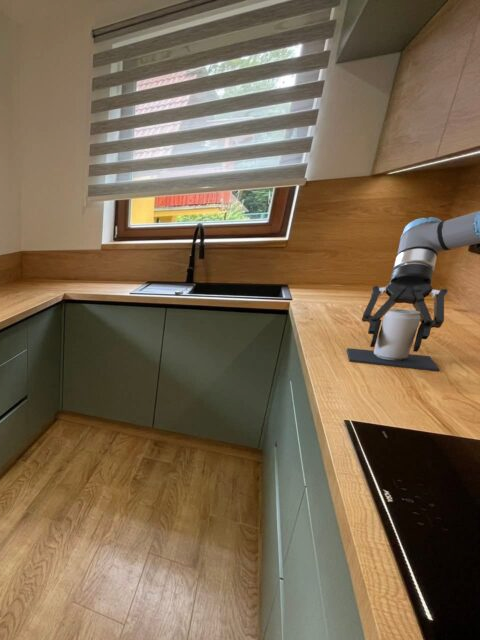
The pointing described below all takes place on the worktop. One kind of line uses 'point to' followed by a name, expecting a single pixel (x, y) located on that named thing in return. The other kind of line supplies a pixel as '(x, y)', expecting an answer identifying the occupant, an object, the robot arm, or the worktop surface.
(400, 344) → the beverage can
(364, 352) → the mat
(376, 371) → the worktop surface
